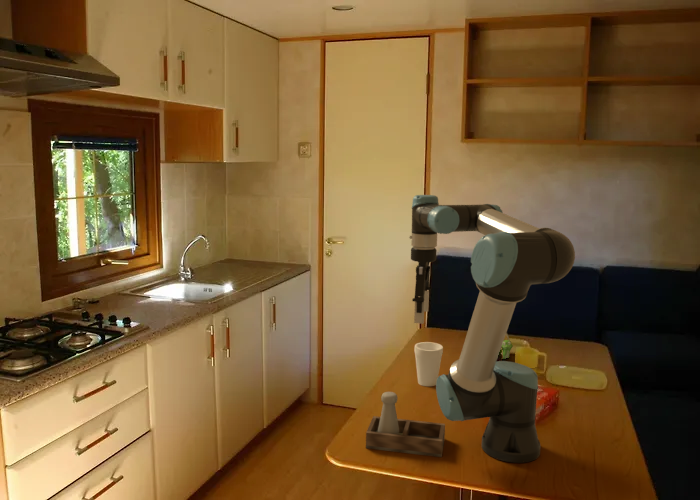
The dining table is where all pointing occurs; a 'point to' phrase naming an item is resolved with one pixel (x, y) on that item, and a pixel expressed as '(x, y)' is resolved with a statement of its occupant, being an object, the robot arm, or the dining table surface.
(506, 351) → the turtle holder
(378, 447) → the wooden compartment tray
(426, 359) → the foam cup
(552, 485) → the dining table surface
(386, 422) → the salt shaker
